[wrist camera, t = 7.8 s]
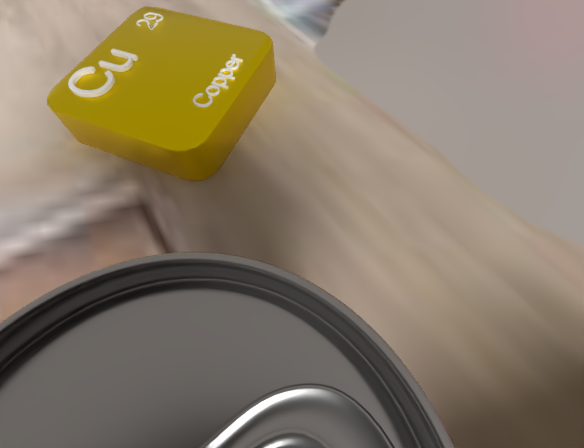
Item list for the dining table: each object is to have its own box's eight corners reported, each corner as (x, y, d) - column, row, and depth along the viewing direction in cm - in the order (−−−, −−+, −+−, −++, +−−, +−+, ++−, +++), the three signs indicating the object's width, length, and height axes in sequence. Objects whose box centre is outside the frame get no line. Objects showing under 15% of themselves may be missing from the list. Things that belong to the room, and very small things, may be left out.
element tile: (208, 190, 28) (190, 152, 24) (66, 140, 31) (28, 97, 27) (283, 74, 34) (280, 27, 30) (159, 42, 37) (140, -4, 33)
